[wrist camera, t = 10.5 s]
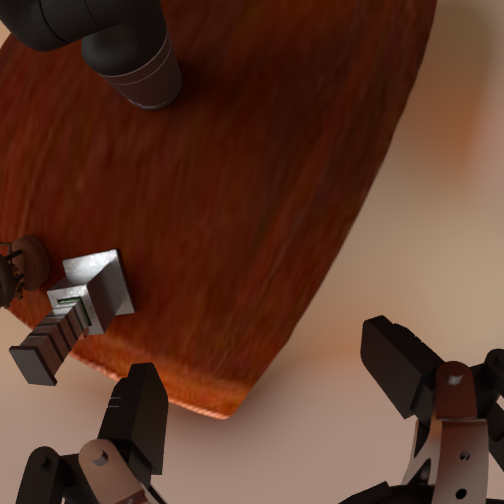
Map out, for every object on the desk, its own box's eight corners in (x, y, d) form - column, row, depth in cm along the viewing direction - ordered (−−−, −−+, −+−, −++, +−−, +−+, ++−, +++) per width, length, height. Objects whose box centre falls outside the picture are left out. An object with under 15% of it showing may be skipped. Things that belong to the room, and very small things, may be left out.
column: (69, 287, 37) (8, 349, 19) (93, 283, 37) (34, 350, 19) (79, 313, 38) (28, 383, 20) (102, 311, 39) (55, 386, 21)
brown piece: (57, 294, 43) (-3, 346, 23) (23, 288, 42) (-34, 331, 23) (47, 218, 39) (-30, 246, 19) (13, 219, 38) (-56, 244, 19)
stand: (64, 259, 41) (30, 283, 30) (117, 248, 42) (89, 272, 31) (84, 316, 45) (58, 351, 33) (135, 310, 46) (117, 347, 34)
